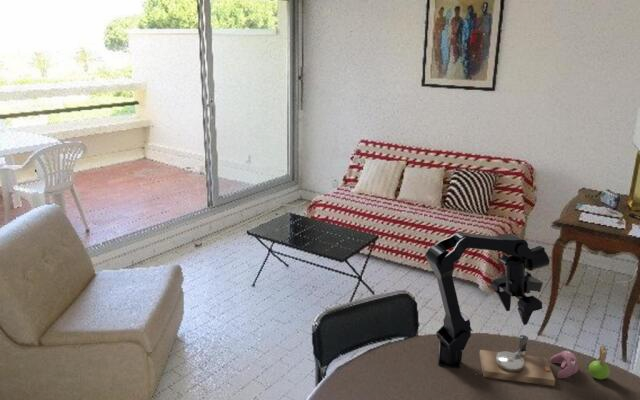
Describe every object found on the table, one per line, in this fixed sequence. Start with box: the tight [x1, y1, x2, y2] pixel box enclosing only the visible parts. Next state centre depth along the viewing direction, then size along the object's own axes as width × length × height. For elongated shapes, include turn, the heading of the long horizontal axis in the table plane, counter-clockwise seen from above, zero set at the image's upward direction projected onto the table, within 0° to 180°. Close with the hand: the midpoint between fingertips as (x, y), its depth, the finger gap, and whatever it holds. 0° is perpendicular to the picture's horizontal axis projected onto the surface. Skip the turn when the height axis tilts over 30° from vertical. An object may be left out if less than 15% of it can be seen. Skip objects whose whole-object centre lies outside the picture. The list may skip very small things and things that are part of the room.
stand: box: [478, 349, 556, 387], centre depth 155 cm, size 20×12×2 cm, turn 79°
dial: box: [496, 334, 529, 372], centre depth 155 cm, size 13×8×6 cm, turn 134°
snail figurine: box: [588, 345, 611, 380], centre depth 150 cm, size 5×6×12 cm
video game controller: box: [550, 350, 579, 379], centre depth 155 cm, size 10×5×7 cm, turn 168°
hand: (516, 317), depth 161 cm, fingers open, 9 cm apart
